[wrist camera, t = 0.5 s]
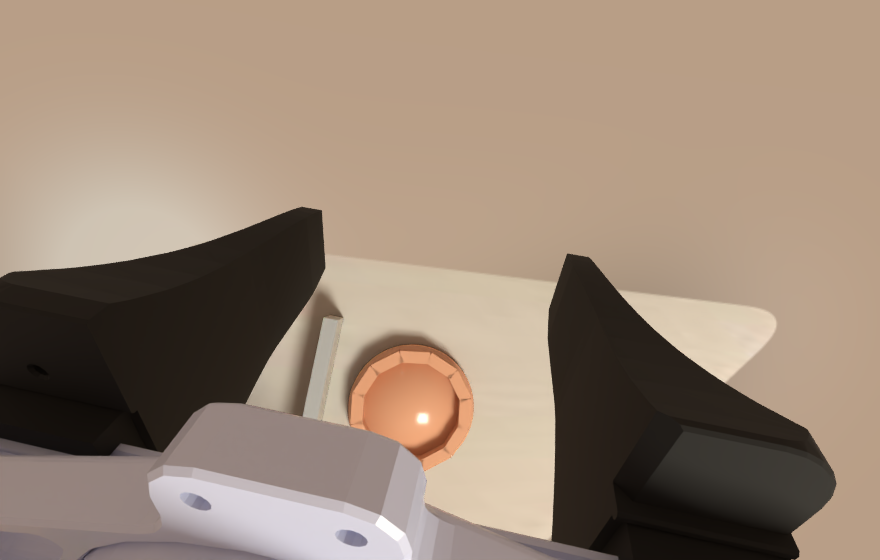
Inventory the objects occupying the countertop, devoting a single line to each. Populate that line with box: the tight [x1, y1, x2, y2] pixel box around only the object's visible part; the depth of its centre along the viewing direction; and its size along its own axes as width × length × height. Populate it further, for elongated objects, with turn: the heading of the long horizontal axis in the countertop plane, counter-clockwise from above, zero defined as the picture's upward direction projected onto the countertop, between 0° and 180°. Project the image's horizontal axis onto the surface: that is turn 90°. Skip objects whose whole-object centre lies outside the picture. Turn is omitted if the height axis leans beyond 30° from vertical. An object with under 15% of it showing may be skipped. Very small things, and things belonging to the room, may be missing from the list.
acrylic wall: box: [303, 315, 343, 421], centre depth 37 cm, size 13×1×3 cm, turn 168°
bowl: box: [348, 344, 474, 471], centre depth 38 cm, size 11×11×2 cm
